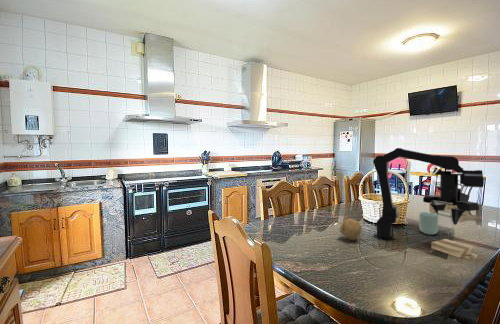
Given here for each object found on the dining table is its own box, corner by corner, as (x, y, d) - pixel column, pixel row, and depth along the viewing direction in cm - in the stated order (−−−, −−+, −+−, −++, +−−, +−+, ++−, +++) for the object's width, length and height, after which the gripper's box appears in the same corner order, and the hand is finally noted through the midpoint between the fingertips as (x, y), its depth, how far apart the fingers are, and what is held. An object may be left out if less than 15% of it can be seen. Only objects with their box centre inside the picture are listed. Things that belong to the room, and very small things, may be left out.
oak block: (459, 258, 94) (459, 251, 94) (431, 249, 103) (431, 242, 103) (473, 254, 98) (473, 247, 98) (445, 245, 107) (445, 238, 107)
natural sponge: (339, 241, 110) (340, 220, 110) (340, 235, 118) (340, 215, 118) (361, 244, 107) (361, 222, 106) (360, 237, 115) (360, 217, 115)
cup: (441, 236, 117) (442, 216, 116) (423, 235, 118) (424, 215, 118) (432, 231, 125) (433, 212, 124) (415, 230, 126) (416, 211, 126)
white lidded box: (449, 227, 98) (450, 213, 98) (437, 224, 103) (437, 210, 103) (459, 226, 99) (459, 212, 99) (447, 223, 104) (447, 209, 104)
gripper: (490, 187, 93) (489, 227, 94) (442, 182, 111) (441, 215, 112) (467, 189, 91) (467, 230, 91) (422, 183, 109) (422, 217, 110)
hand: (448, 222), depth 101 cm, fingers closed on white lidded box, 5 cm apart
